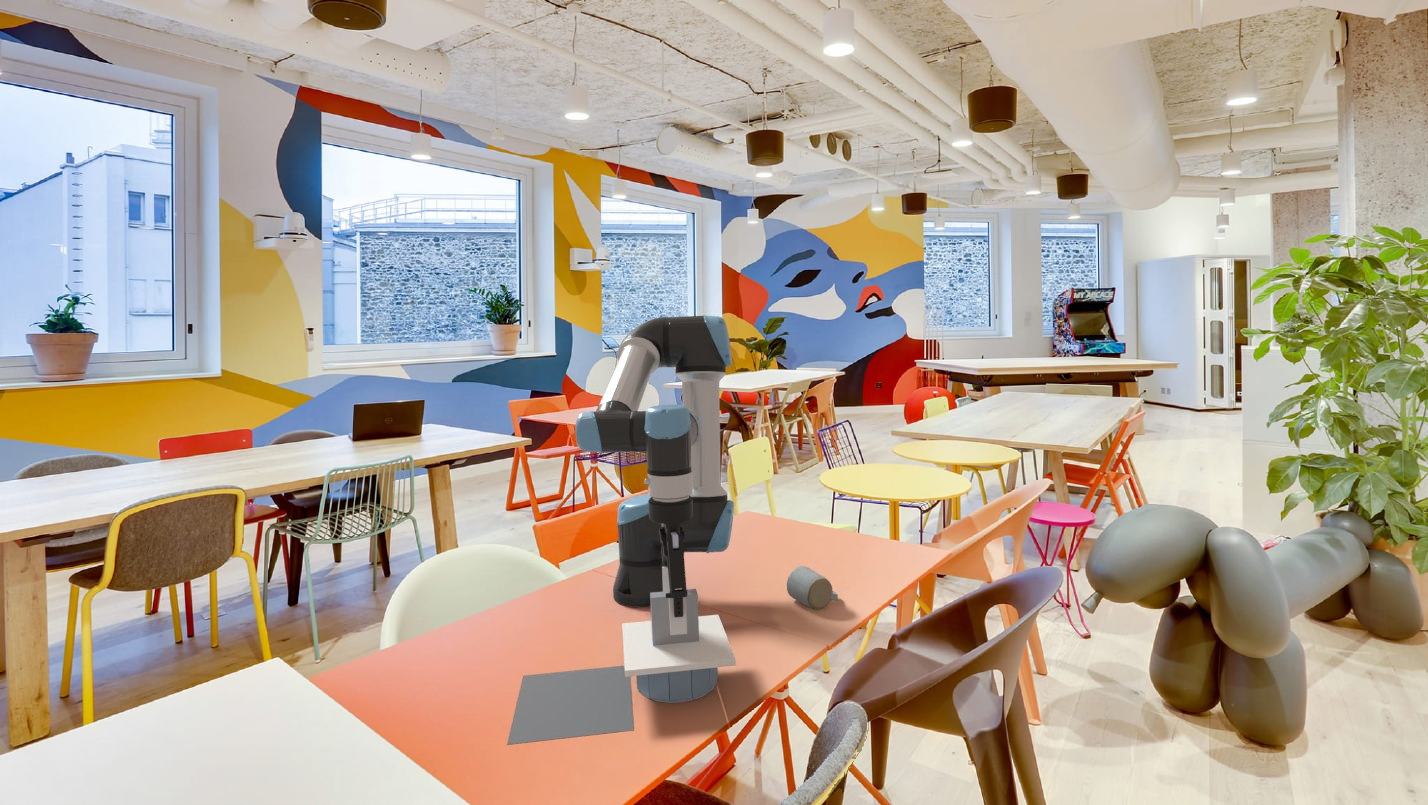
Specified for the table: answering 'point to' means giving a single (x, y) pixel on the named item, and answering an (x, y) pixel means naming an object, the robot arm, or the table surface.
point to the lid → (675, 641)
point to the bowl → (678, 685)
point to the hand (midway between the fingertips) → (674, 616)
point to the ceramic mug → (810, 588)
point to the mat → (572, 705)
